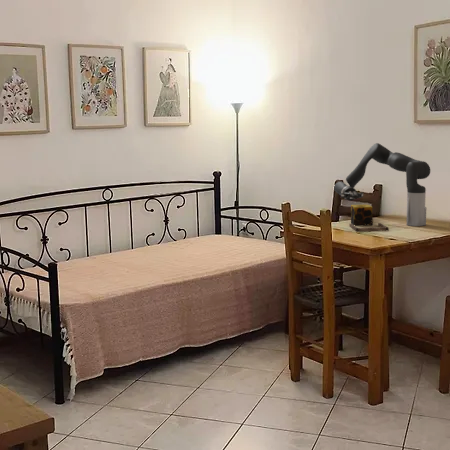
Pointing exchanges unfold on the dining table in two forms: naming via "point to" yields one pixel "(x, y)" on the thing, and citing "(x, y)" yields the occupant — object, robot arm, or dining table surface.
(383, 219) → the dining table surface
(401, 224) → the dining table surface
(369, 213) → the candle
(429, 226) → the dining table surface
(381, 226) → the walnut frame
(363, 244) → the dining table surface
